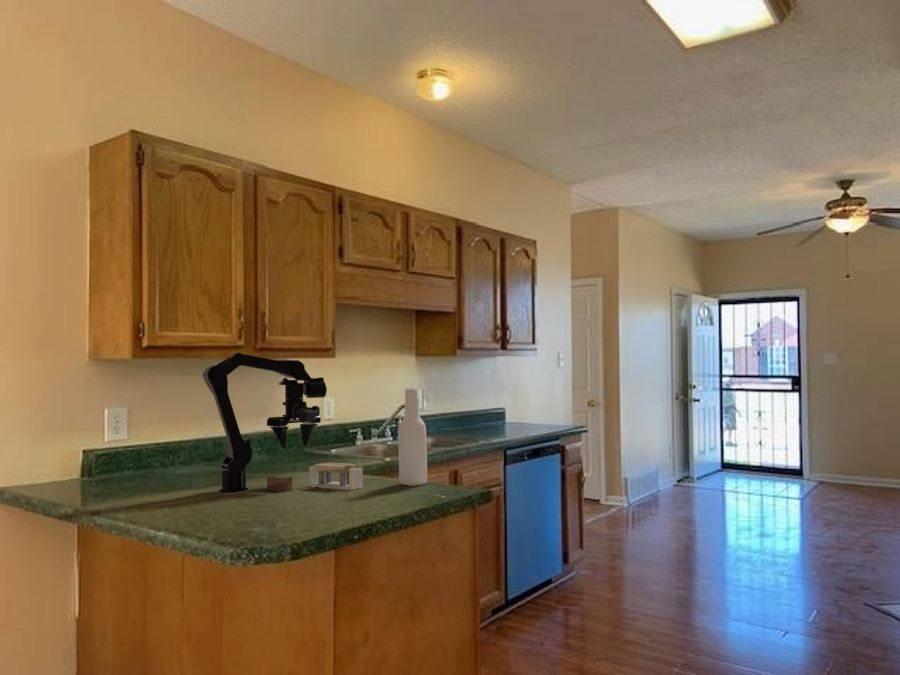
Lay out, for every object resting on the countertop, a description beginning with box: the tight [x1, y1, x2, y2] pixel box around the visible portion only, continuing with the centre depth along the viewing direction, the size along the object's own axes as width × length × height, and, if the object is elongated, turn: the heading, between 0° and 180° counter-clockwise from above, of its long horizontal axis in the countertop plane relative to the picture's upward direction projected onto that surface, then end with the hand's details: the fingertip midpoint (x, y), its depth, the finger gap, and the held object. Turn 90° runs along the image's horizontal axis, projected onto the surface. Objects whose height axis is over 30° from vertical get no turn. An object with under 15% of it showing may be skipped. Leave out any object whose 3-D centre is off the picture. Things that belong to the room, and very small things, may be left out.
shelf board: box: [314, 462, 357, 474], centre depth 216 cm, size 6×12×2 cm, turn 56°
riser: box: [266, 475, 293, 493], centre depth 212 cm, size 3×8×4 cm, turn 56°
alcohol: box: [397, 387, 428, 487], centre depth 218 cm, size 9×9×30 cm
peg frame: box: [308, 465, 364, 491], centre depth 216 cm, size 7×18×6 cm, turn 56°
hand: (294, 446), depth 225 cm, fingers open, 9 cm apart
